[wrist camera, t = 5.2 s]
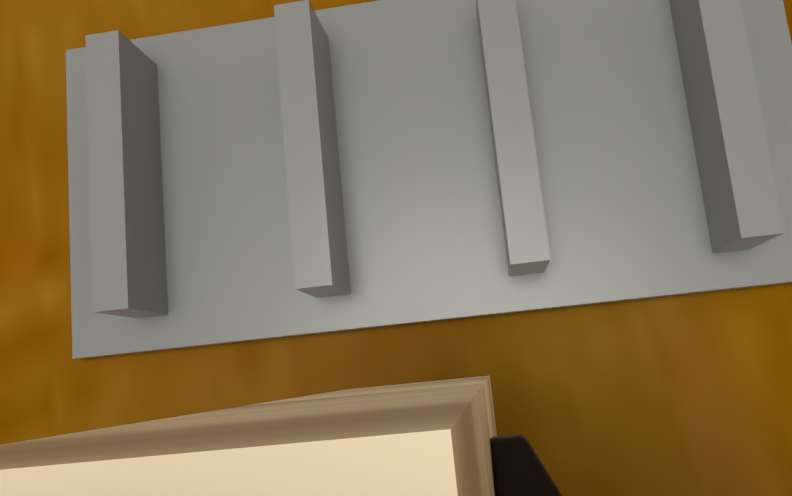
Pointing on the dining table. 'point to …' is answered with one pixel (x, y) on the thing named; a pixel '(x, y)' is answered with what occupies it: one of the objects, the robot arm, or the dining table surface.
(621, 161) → the slotted rack
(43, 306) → the dining table surface
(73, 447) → the birch block
